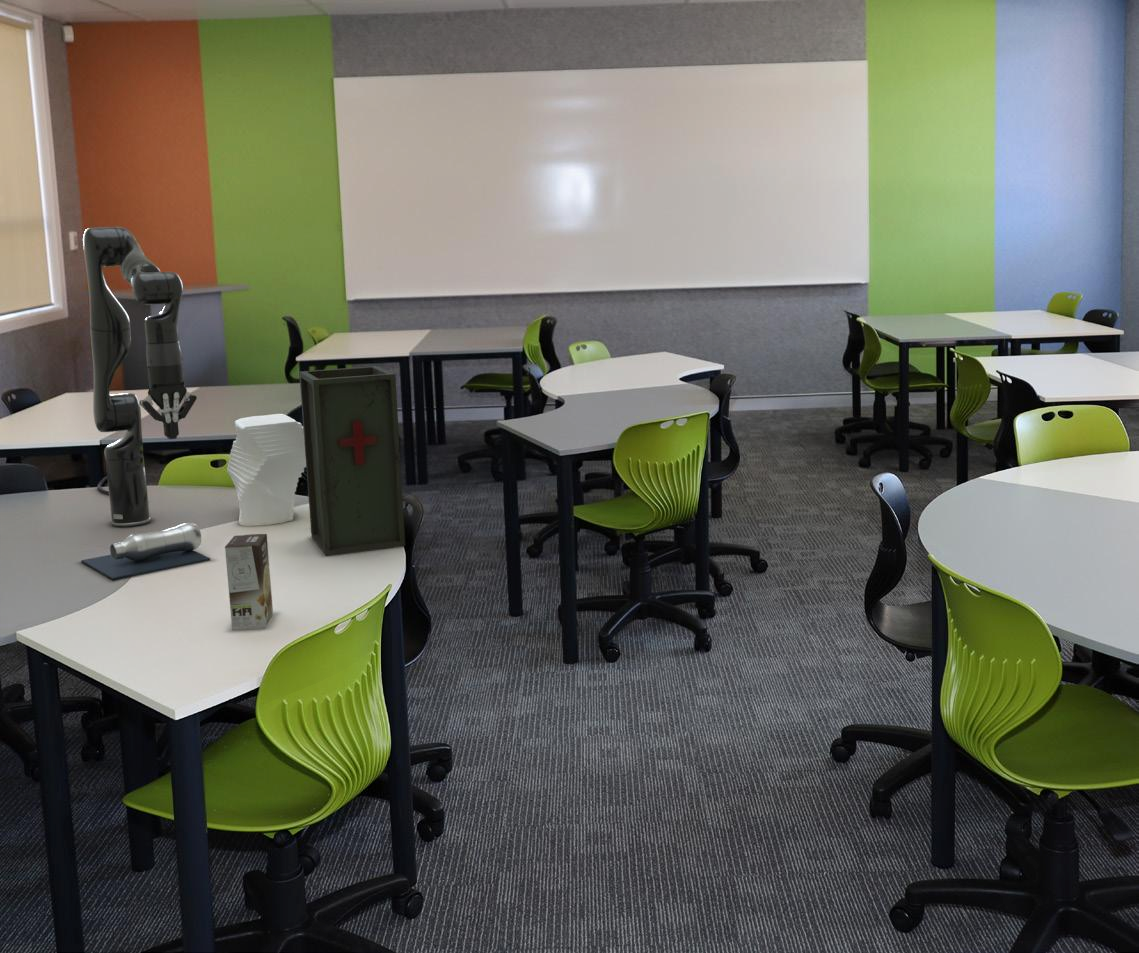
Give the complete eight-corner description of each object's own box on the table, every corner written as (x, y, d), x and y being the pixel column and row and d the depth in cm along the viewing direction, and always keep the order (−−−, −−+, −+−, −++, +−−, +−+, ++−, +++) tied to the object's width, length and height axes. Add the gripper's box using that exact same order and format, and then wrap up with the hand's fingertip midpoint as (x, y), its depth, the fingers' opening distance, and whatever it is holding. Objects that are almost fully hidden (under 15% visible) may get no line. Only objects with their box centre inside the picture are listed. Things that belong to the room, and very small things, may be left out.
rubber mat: (81, 562, 276) (81, 560, 276) (175, 544, 289) (175, 542, 289) (112, 580, 261) (112, 578, 260) (210, 560, 274) (210, 558, 274)
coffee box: (266, 628, 226) (259, 545, 223) (231, 630, 225) (223, 547, 222) (274, 613, 235) (267, 532, 232) (240, 615, 234) (233, 534, 231)
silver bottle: (207, 540, 279) (121, 557, 266) (199, 553, 284) (114, 571, 271) (198, 515, 281) (112, 532, 268) (189, 529, 286) (105, 546, 273)
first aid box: (325, 555, 275) (312, 380, 267) (311, 537, 292) (299, 371, 284) (405, 546, 282) (395, 374, 274) (387, 528, 299) (377, 366, 291)
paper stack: (235, 531, 300) (226, 428, 295) (229, 508, 325) (221, 413, 320) (321, 523, 306) (314, 422, 301) (309, 501, 332) (302, 407, 326)
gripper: (186, 358, 279) (193, 432, 283) (129, 363, 271) (137, 440, 275) (199, 360, 274) (206, 436, 277) (141, 366, 265) (149, 444, 269)
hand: (171, 438), depth 276 cm, fingers closed
